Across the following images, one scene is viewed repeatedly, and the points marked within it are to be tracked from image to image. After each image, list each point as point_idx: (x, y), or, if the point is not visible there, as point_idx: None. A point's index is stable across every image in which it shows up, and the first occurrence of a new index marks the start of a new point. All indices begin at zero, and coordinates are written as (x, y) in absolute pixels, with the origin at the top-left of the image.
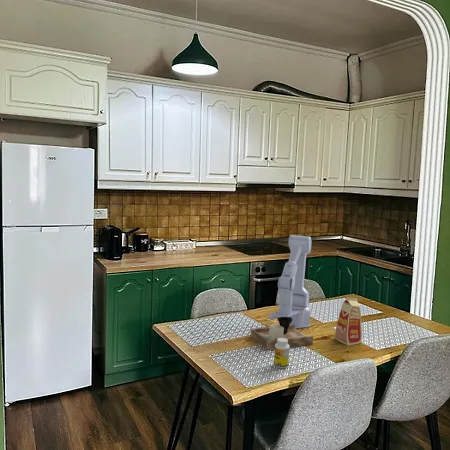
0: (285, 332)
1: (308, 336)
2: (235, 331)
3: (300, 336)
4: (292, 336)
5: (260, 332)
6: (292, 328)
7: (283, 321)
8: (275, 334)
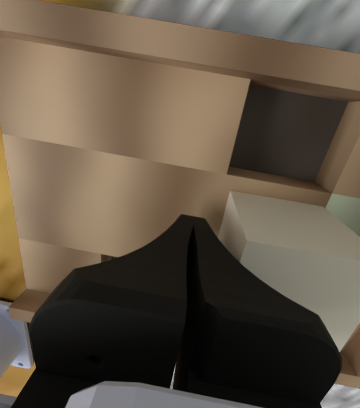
0: (192, 220)
1: (3, 8)
2: (336, 404)
3: (66, 143)
4: (133, 177)
5: None
6: (44, 291)
7: (314, 319)
8: (333, 222)
